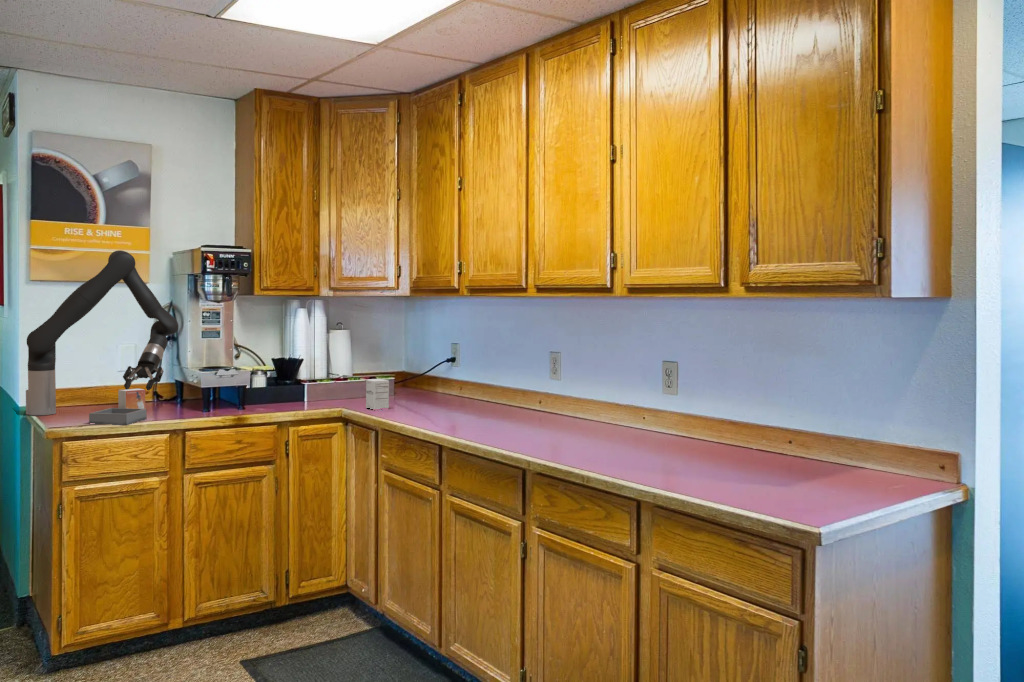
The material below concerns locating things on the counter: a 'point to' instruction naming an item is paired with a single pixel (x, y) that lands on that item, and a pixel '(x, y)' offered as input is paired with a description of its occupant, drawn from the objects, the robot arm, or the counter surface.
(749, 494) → the counter surface
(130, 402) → the small box
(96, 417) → the grey tray
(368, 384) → the supplement box
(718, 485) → the counter surface
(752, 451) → the counter surface
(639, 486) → the counter surface
